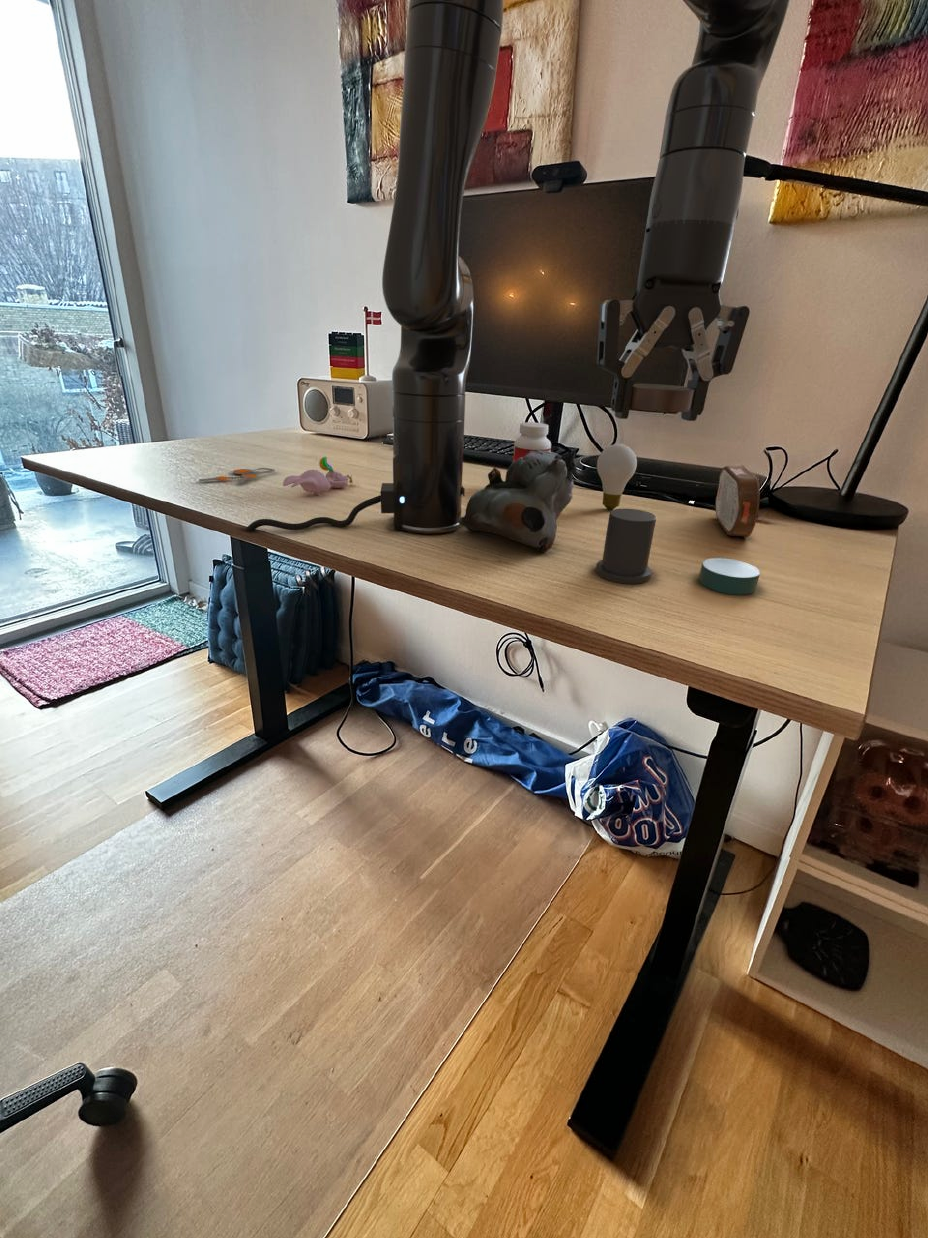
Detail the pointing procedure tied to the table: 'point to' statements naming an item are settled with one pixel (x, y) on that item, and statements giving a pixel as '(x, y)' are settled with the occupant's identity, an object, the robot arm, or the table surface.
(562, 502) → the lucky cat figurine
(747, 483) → the tin
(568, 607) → the table surface
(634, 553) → the upturned cup
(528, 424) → the pill bottle
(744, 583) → the teal chip
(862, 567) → the table surface
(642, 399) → the walnut chip
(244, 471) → the key chain
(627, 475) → the light bulb
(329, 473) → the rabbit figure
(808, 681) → the table surface
